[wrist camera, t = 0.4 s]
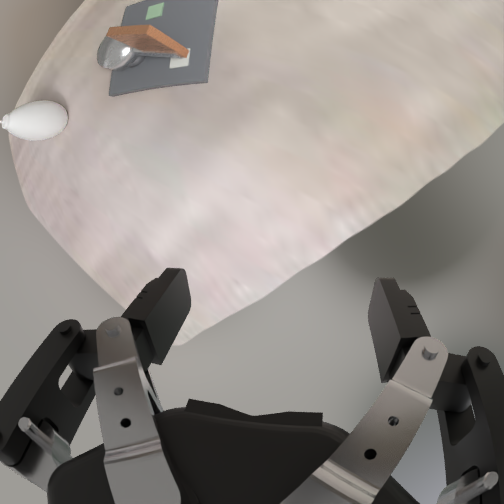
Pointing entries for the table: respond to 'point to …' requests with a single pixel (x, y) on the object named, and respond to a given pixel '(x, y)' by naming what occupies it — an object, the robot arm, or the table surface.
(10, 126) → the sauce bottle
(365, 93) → the table surface
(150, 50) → the twist collar
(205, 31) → the lock base
